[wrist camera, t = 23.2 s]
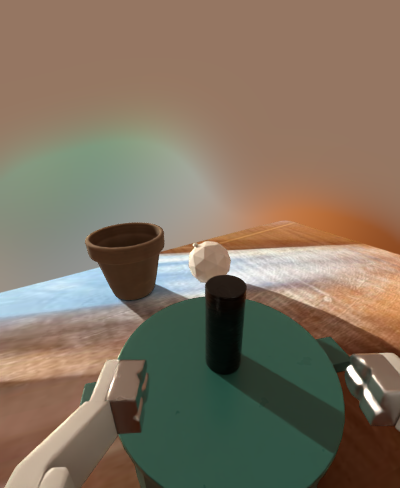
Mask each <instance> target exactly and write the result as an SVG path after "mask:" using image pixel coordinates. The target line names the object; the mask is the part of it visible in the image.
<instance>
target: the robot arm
mask: <svg viewBox="0 0 400 488" xmlns="http://www.w3.org/2000/svg"><path fill="white" fill-rule="evenodd" d="M349 362H350V363H351V365H350V366H349V367H348V368H347V369H346V372H345V381H346V384H347V387H348V389H349V391H350V392H351V394H352V395H353V396H354V397H355V398H357V399H358V400H359V401H360V404H359V407H360V409H361V410H362V412H363V414H364V415H365V417H366V418H367V420H368V422H369V423H370V425H371V426H395V428H396V429H397V430H398V431H400V358H399V357H398V356H397V355H395V354H394V353H363V354H353V355H351V356H350V359H349ZM146 371H147V360H107V361H106V362H105V364H104V366H103V368H102V371H101V373H100V376H99V378H98V381H97V383H96V386H95V388H94V391H93V393H92V396H91V398H90V400H89V401H88V402H84V403H83V404H82V405H81V406H80V407H79V408H78V409H77V410H76V411H75V412H74V413H72V414H71V415H70V416H69V417H68V418H67V419H66V420H65V421H64V422H63V423H62V424H61V425H60V426H59V427H58V428H57V429H56V430H54V431H53V432H52V433H51V434H50V435H49V436H48V437H47V438H46V439H45V440H44V441H43V442H42V443H41V444H40V445H39V446H38V447H36V448H35V449H34V450H33V451H32V452H31V453H30V454H29V455H28V456H27V457H26V458H25V459H24V460H23V461H22V462H21V463H20V464H18V465H17V466H16V468H15V469H14V471H13V473H12V475H11V477H10V479H9V480H8V482H7V484H6V486H5V488H81V486H82V485H83V483H84V482H85V481H86V479H87V478H88V476H89V475H90V474H91V472H92V471H93V469H94V468H95V467H96V465H97V464H98V462H99V461H100V460H101V458H102V457H103V456H104V454H105V453H106V451H107V450H108V449H109V447H110V446H111V444H112V443H113V442H114V440H115V439H116V437H117V436H118V435H117V434H127V433H141V432H142V427H143V422H144V416H145V409H144V404H145V403H146V402H147V400H148V394H149V374H148V373H147V372H146Z"/></svg>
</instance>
